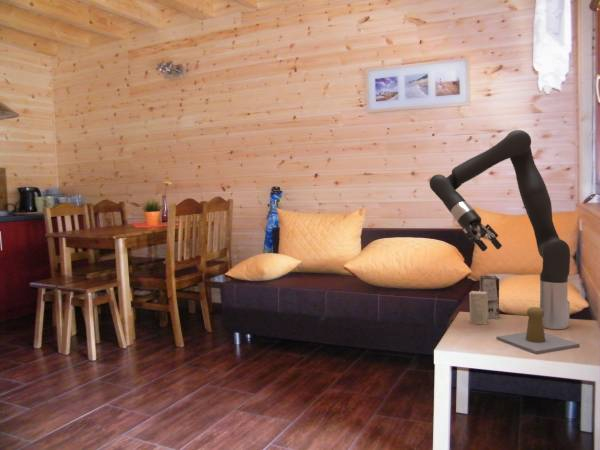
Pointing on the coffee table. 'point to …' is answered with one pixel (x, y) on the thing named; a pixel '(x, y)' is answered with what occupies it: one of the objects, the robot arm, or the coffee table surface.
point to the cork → (535, 325)
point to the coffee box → (491, 294)
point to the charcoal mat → (537, 348)
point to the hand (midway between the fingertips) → (492, 248)
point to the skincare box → (478, 307)
